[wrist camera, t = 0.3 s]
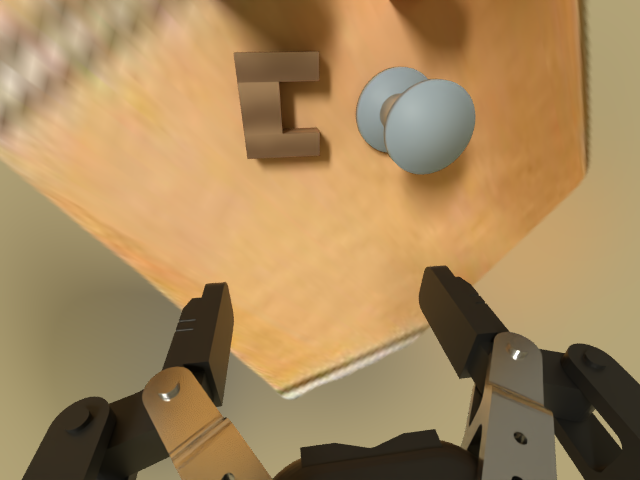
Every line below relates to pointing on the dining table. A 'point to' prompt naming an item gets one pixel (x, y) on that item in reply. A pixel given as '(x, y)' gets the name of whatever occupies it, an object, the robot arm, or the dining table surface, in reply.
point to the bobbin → (415, 119)
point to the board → (273, 102)
